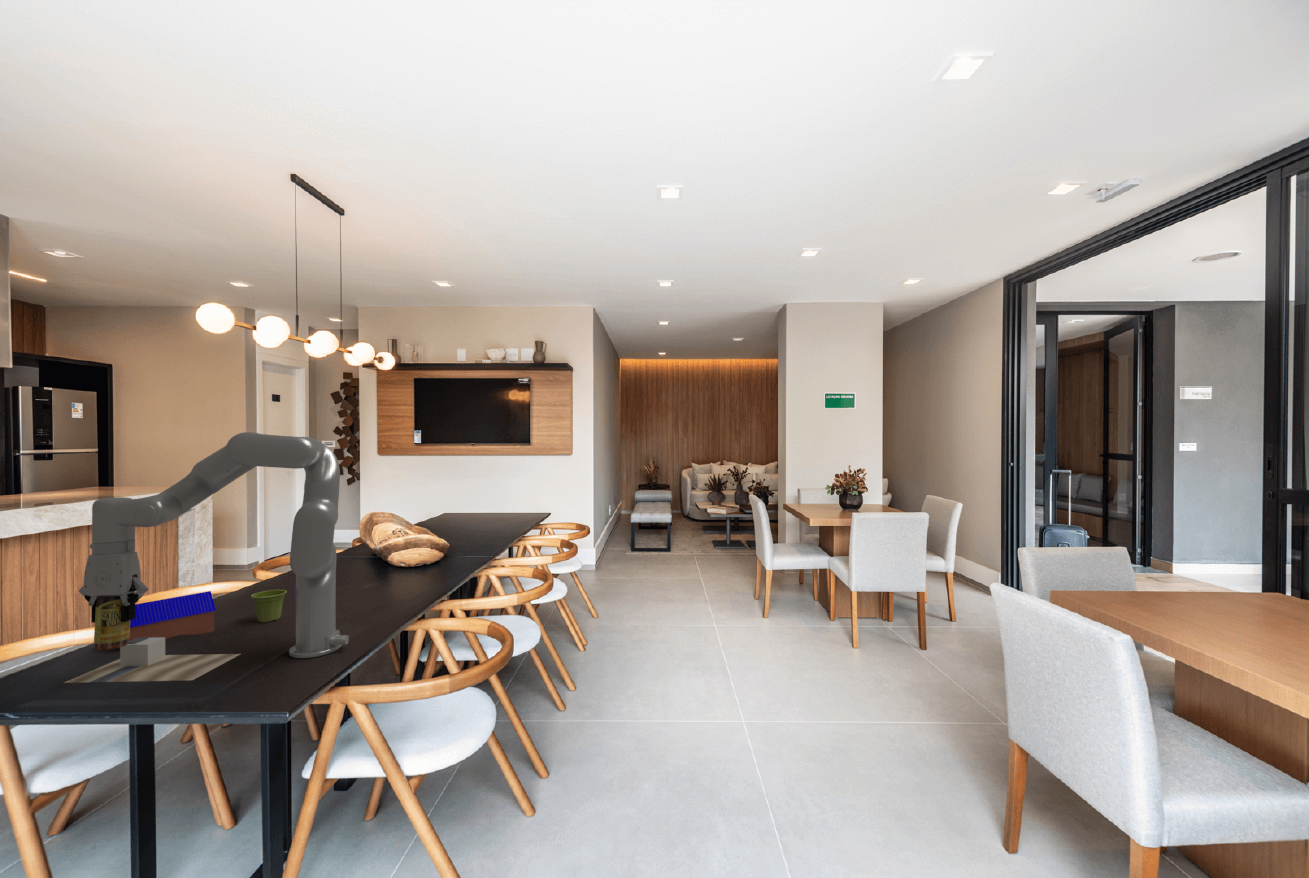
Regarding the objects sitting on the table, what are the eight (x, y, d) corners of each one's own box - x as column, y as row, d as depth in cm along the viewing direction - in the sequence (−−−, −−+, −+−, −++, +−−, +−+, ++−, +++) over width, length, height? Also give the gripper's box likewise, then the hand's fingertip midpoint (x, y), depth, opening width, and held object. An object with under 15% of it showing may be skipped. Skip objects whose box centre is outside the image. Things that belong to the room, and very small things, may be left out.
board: (241, 658, 145) (241, 653, 145) (192, 685, 129) (192, 680, 129) (127, 660, 144) (127, 655, 144) (63, 687, 128) (63, 682, 128)
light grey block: (165, 658, 143) (165, 636, 143) (147, 665, 138) (147, 643, 138) (138, 658, 143) (138, 636, 143) (120, 666, 138) (120, 643, 138)
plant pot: (258, 616, 180) (258, 590, 180) (290, 613, 183) (290, 588, 183) (246, 625, 171) (246, 598, 171) (280, 622, 174) (280, 595, 174)
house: (119, 642, 158) (119, 602, 158) (205, 623, 174) (205, 587, 174) (126, 652, 151) (126, 610, 151) (216, 631, 166) (215, 594, 166)
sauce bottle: (99, 653, 128) (99, 570, 128) (89, 648, 131) (89, 567, 131) (135, 644, 134) (135, 565, 134) (125, 640, 137) (125, 562, 137)
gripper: (61, 551, 129) (61, 626, 129) (135, 550, 129) (135, 625, 129) (93, 545, 136) (93, 616, 136) (163, 544, 137) (163, 615, 137)
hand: (113, 619), depth 133 cm, fingers closed on sauce bottle, 6 cm apart
